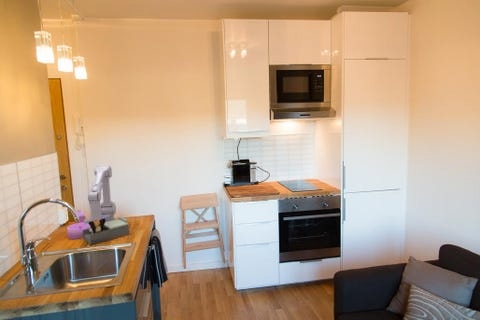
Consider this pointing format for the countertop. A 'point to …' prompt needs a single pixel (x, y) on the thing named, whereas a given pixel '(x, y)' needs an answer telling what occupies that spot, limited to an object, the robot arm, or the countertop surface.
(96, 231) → the peg
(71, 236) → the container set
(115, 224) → the lid
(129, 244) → the countertop surface
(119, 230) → the housing
